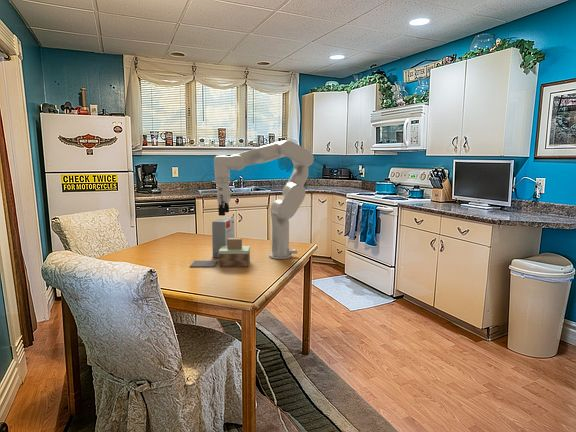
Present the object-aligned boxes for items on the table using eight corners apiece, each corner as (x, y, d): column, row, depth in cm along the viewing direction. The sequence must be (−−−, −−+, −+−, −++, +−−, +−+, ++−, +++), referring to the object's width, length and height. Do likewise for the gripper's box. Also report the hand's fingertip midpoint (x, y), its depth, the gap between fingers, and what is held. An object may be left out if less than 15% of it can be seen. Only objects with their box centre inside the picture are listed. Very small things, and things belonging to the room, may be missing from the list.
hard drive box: (225, 258, 200) (224, 222, 196) (212, 257, 201) (211, 221, 198) (235, 251, 215) (234, 217, 211) (222, 250, 216) (221, 217, 213)
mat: (217, 261, 193) (217, 260, 193) (213, 267, 183) (213, 266, 183) (194, 261, 193) (194, 260, 193) (189, 267, 183) (189, 266, 183)
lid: (250, 250, 193) (250, 236, 191) (248, 255, 182) (247, 241, 181) (222, 250, 192) (222, 236, 191) (218, 255, 182) (218, 241, 181)
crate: (249, 261, 193) (249, 248, 192) (247, 267, 183) (247, 253, 182) (223, 261, 193) (222, 248, 192) (219, 267, 183) (219, 253, 182)
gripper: (226, 181, 177) (228, 216, 179) (233, 179, 194) (234, 211, 196) (211, 181, 177) (212, 216, 180) (218, 179, 194) (220, 211, 197)
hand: (224, 213), depth 188 cm, fingers open, 9 cm apart
